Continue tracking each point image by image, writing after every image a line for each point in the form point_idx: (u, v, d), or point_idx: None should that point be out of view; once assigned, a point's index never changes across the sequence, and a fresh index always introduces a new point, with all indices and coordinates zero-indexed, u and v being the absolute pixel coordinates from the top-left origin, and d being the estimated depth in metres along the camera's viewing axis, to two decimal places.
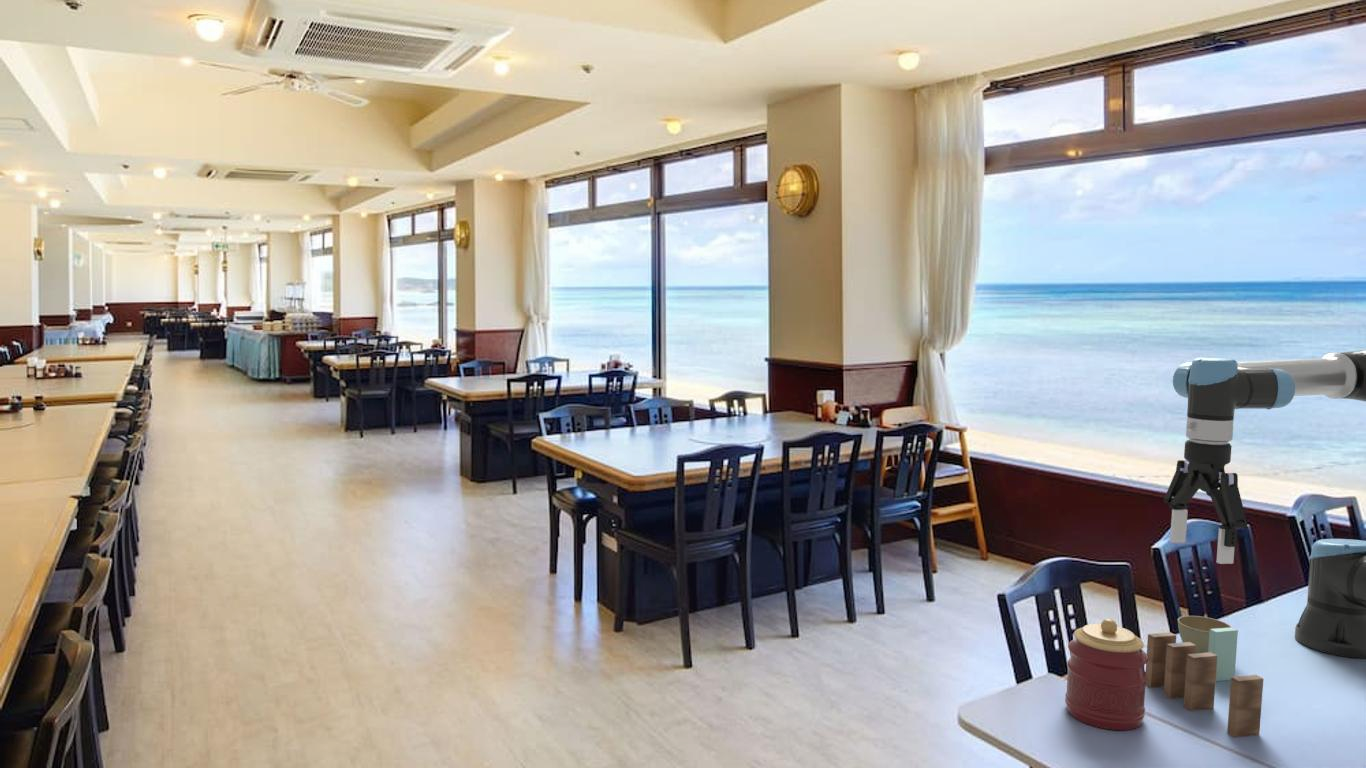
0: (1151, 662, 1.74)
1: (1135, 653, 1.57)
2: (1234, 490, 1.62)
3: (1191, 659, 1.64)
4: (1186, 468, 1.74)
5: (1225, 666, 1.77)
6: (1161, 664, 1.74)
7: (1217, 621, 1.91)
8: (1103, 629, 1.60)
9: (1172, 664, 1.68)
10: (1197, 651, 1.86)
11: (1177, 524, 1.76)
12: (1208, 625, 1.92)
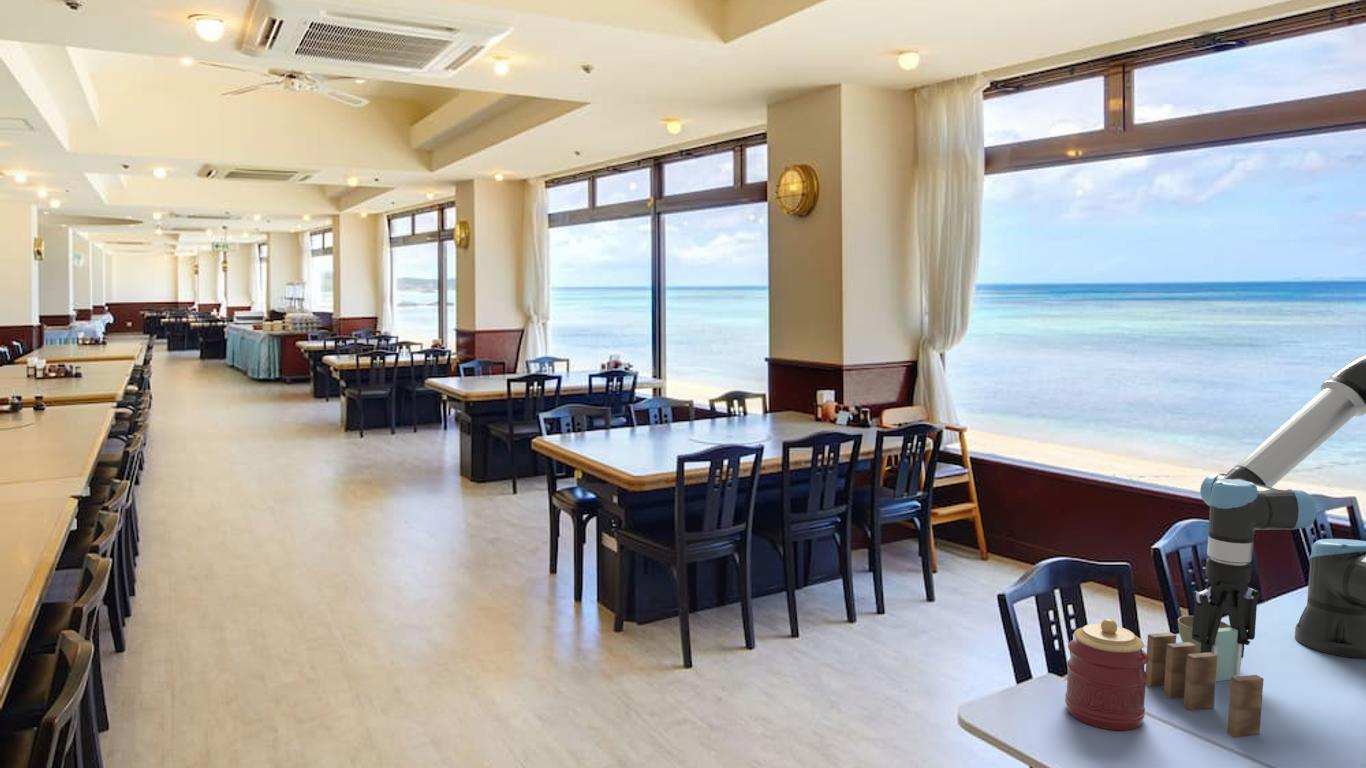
0: (1151, 662, 1.74)
1: (1135, 653, 1.57)
2: (1200, 609, 1.75)
3: (1191, 659, 1.64)
4: None
5: (1225, 666, 1.77)
6: (1161, 664, 1.74)
7: None
8: (1103, 629, 1.60)
9: (1172, 664, 1.68)
10: (1197, 651, 1.86)
11: None
12: None
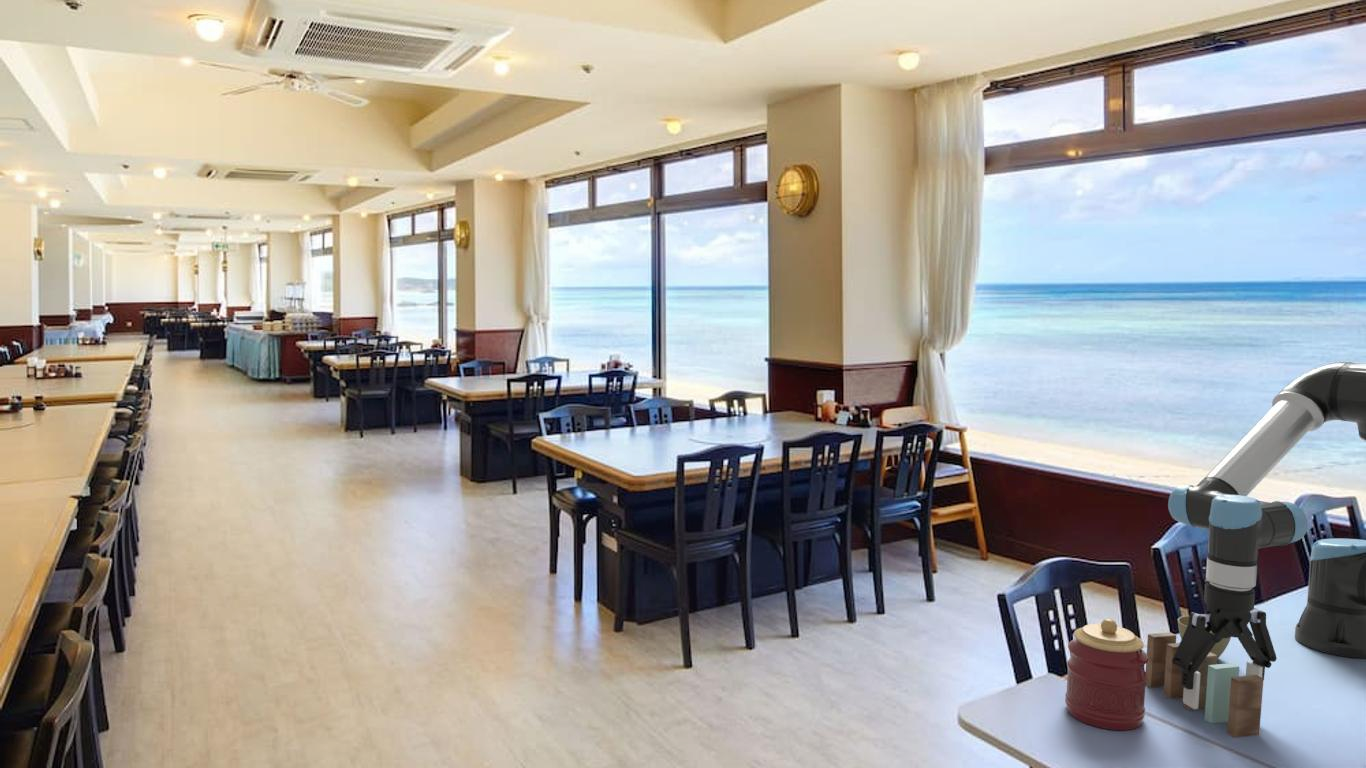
0: (1151, 662, 1.74)
1: (1135, 653, 1.57)
2: (1193, 632, 1.57)
3: None
4: None
5: (1225, 706, 1.60)
6: (1161, 664, 1.74)
7: None
8: (1103, 629, 1.60)
9: (1172, 664, 1.68)
10: None
11: None
12: None
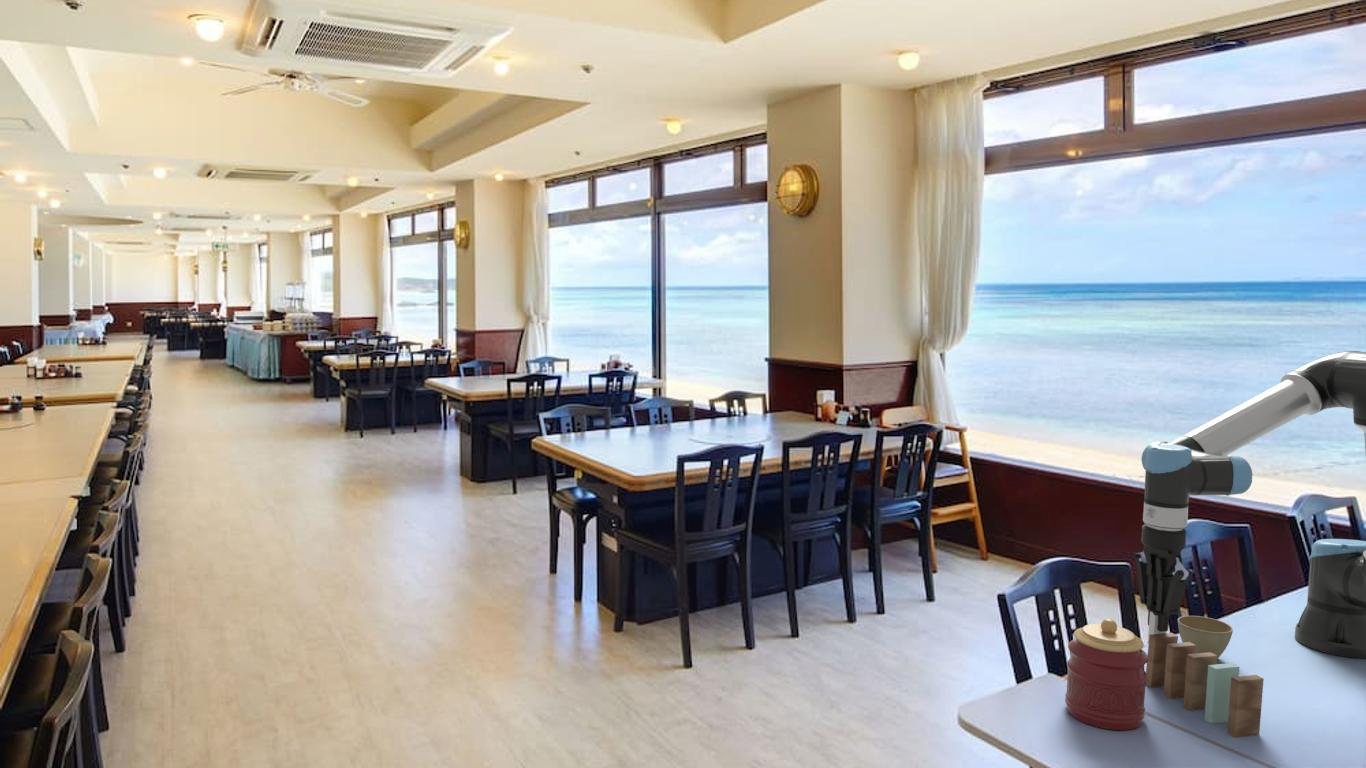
0: (1151, 663, 1.74)
1: (1135, 653, 1.57)
2: (1182, 585, 1.69)
3: (1191, 659, 1.64)
4: (1144, 557, 1.78)
5: (1225, 706, 1.60)
6: (1162, 664, 1.74)
7: (1217, 621, 1.91)
8: (1103, 629, 1.60)
9: (1172, 664, 1.68)
10: (1197, 651, 1.86)
11: None
12: (1208, 625, 1.92)
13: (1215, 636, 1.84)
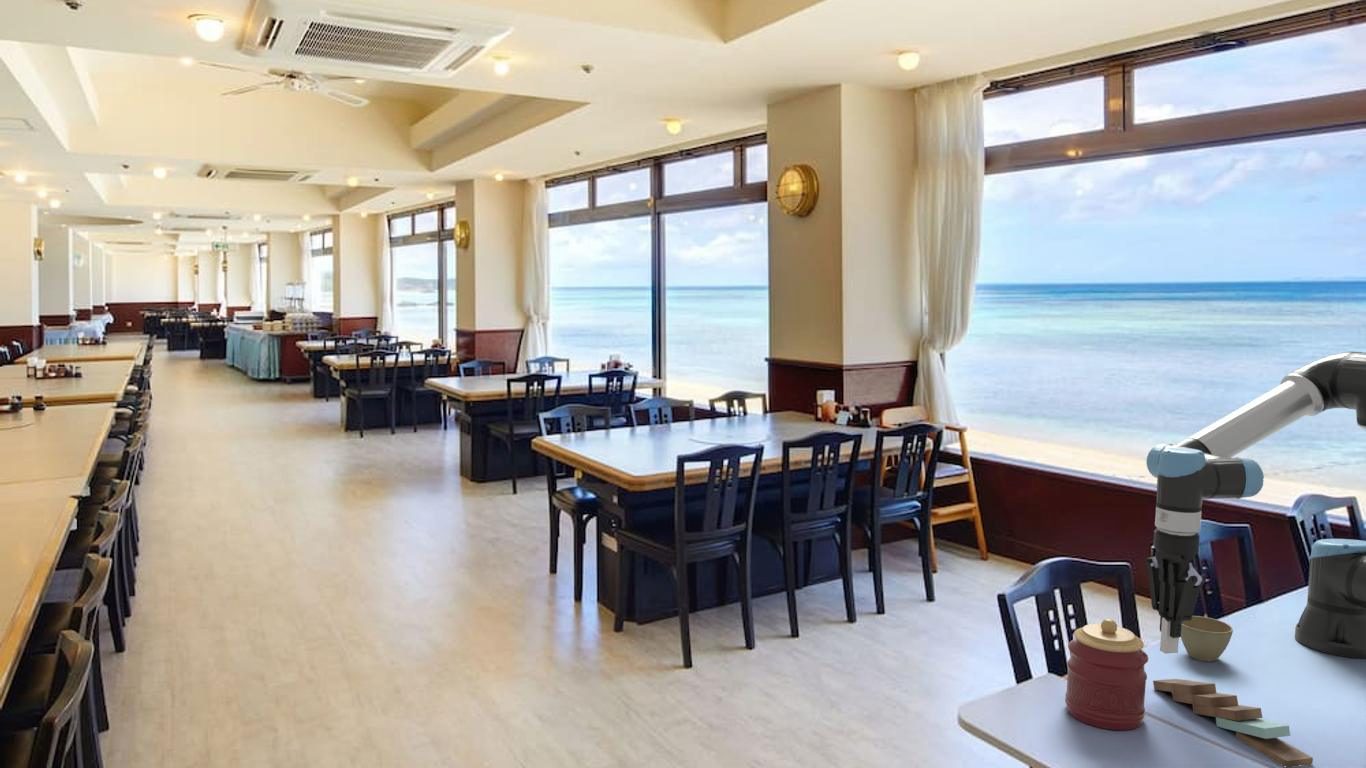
0: (1171, 690, 1.68)
1: (1135, 653, 1.57)
2: (1195, 591, 1.66)
3: (1235, 717, 1.54)
4: (1155, 562, 1.75)
5: None
6: None
7: (1217, 621, 1.91)
8: (1103, 629, 1.60)
9: (1200, 704, 1.62)
10: (1197, 651, 1.86)
11: None
12: (1208, 625, 1.92)
13: (1215, 636, 1.84)
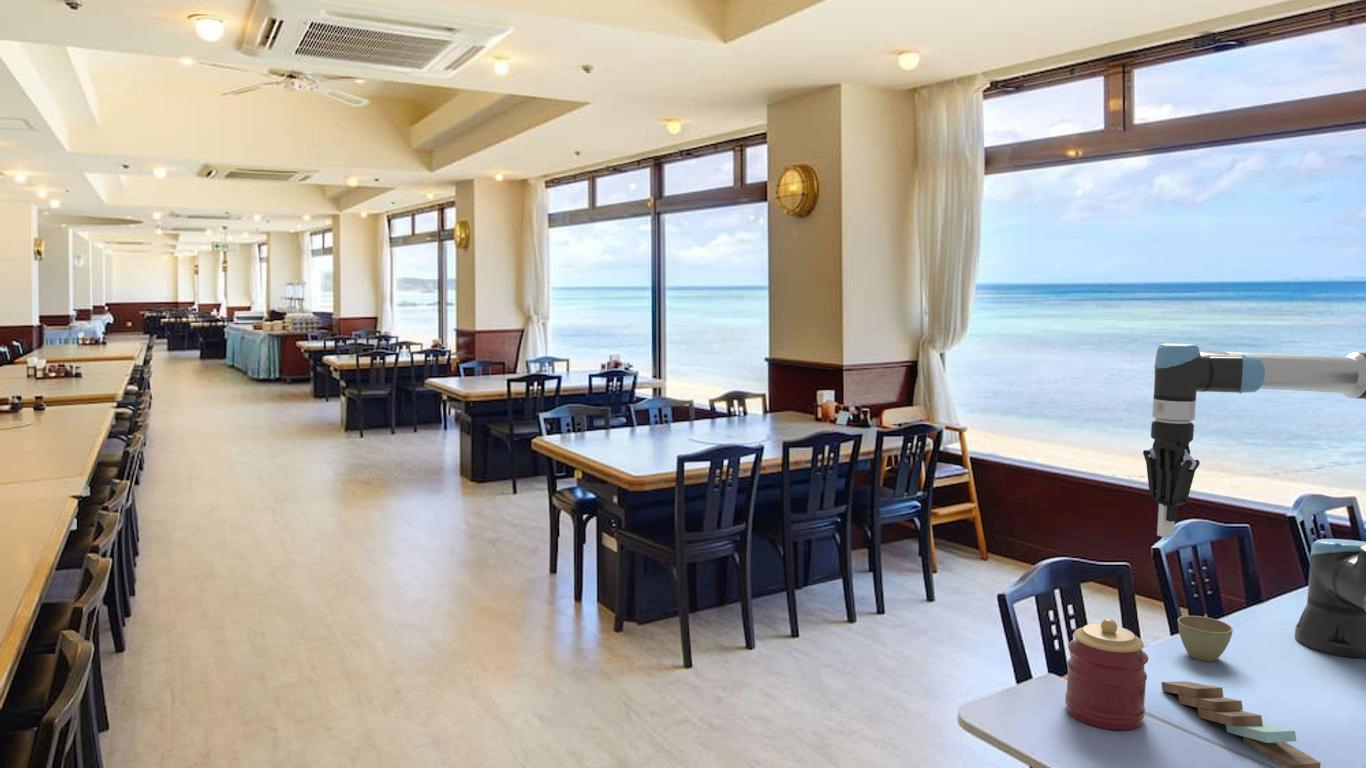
0: (1178, 692, 1.68)
1: (1135, 653, 1.57)
2: (1190, 474, 1.78)
3: (1231, 723, 1.52)
4: (1153, 453, 1.86)
5: None
6: None
7: (1217, 621, 1.91)
8: (1103, 629, 1.60)
9: (1203, 708, 1.61)
10: (1197, 651, 1.86)
11: None
12: (1208, 625, 1.92)
13: (1215, 636, 1.84)
